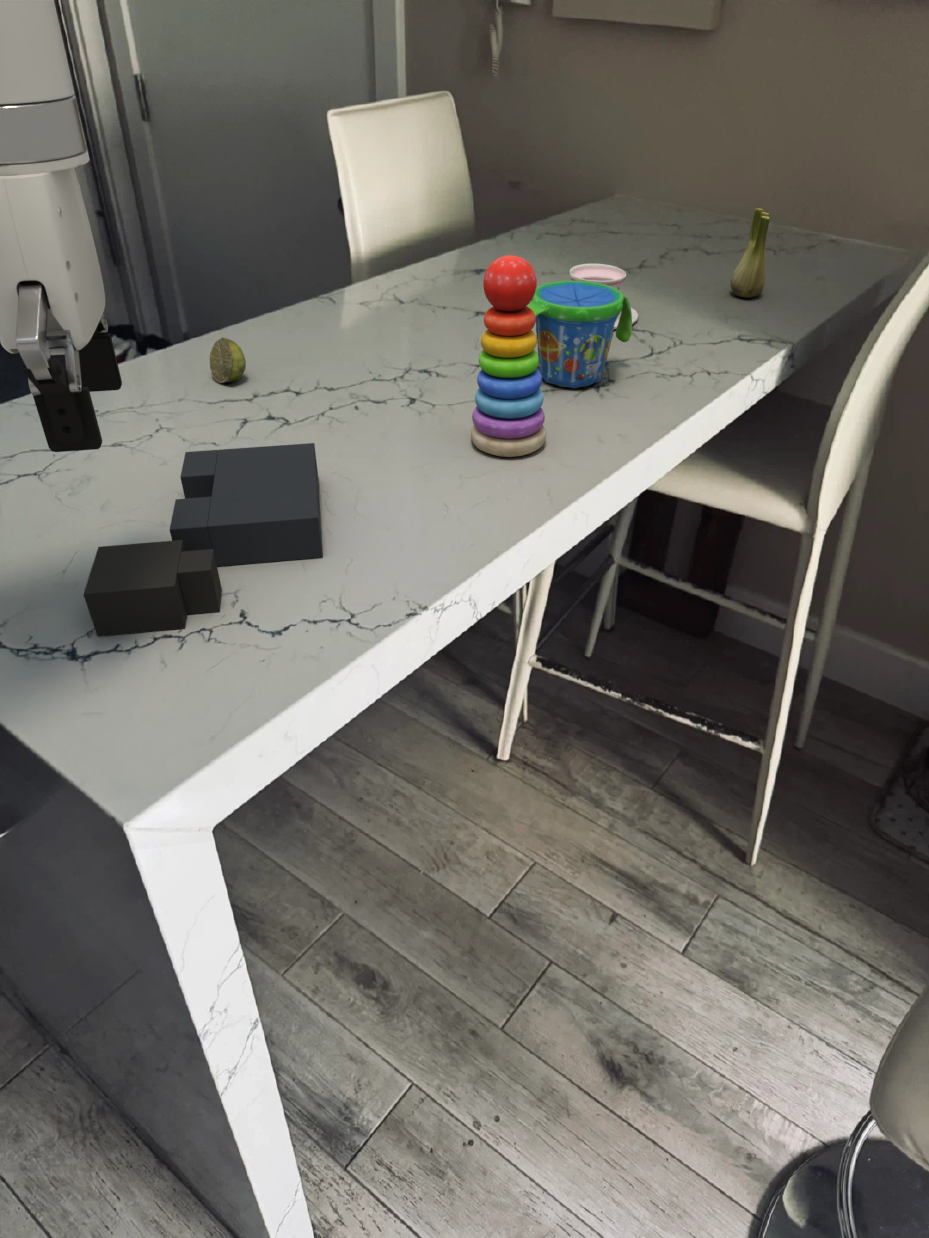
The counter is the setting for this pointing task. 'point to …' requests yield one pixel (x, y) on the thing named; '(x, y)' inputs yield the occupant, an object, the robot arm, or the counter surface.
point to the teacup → (601, 279)
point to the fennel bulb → (752, 259)
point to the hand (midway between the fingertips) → (89, 417)
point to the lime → (226, 361)
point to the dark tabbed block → (150, 587)
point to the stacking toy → (509, 365)
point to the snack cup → (577, 329)
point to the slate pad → (250, 504)
